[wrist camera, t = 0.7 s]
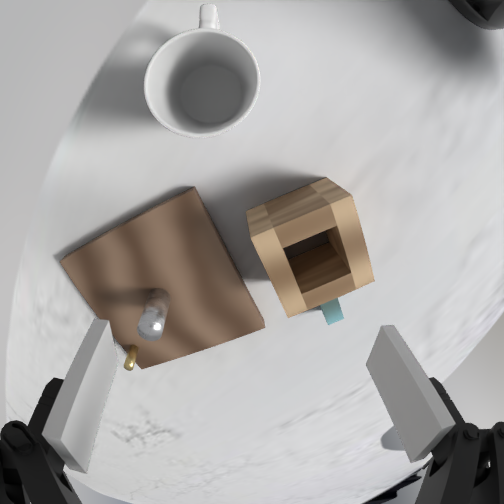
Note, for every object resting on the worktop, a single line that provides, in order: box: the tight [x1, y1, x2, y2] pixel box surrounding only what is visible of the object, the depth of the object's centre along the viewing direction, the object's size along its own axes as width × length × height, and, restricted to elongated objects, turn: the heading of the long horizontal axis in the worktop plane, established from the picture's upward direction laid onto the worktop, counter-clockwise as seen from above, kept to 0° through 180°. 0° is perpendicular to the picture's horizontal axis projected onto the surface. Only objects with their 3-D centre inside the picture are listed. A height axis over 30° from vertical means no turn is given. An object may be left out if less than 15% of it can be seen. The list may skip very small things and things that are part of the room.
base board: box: [60, 187, 265, 369], centre depth 34 cm, size 18×18×2 cm
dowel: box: [124, 345, 139, 371], centre depth 35 cm, size 1×1×4 cm
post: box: [137, 288, 171, 341], centre depth 30 cm, size 2×2×6 cm
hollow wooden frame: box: [246, 178, 375, 325], centre depth 31 cm, size 16×9×7 cm, turn 23°
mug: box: [144, 4, 260, 138], centre depth 20 cm, size 10×7×12 cm, turn 177°
